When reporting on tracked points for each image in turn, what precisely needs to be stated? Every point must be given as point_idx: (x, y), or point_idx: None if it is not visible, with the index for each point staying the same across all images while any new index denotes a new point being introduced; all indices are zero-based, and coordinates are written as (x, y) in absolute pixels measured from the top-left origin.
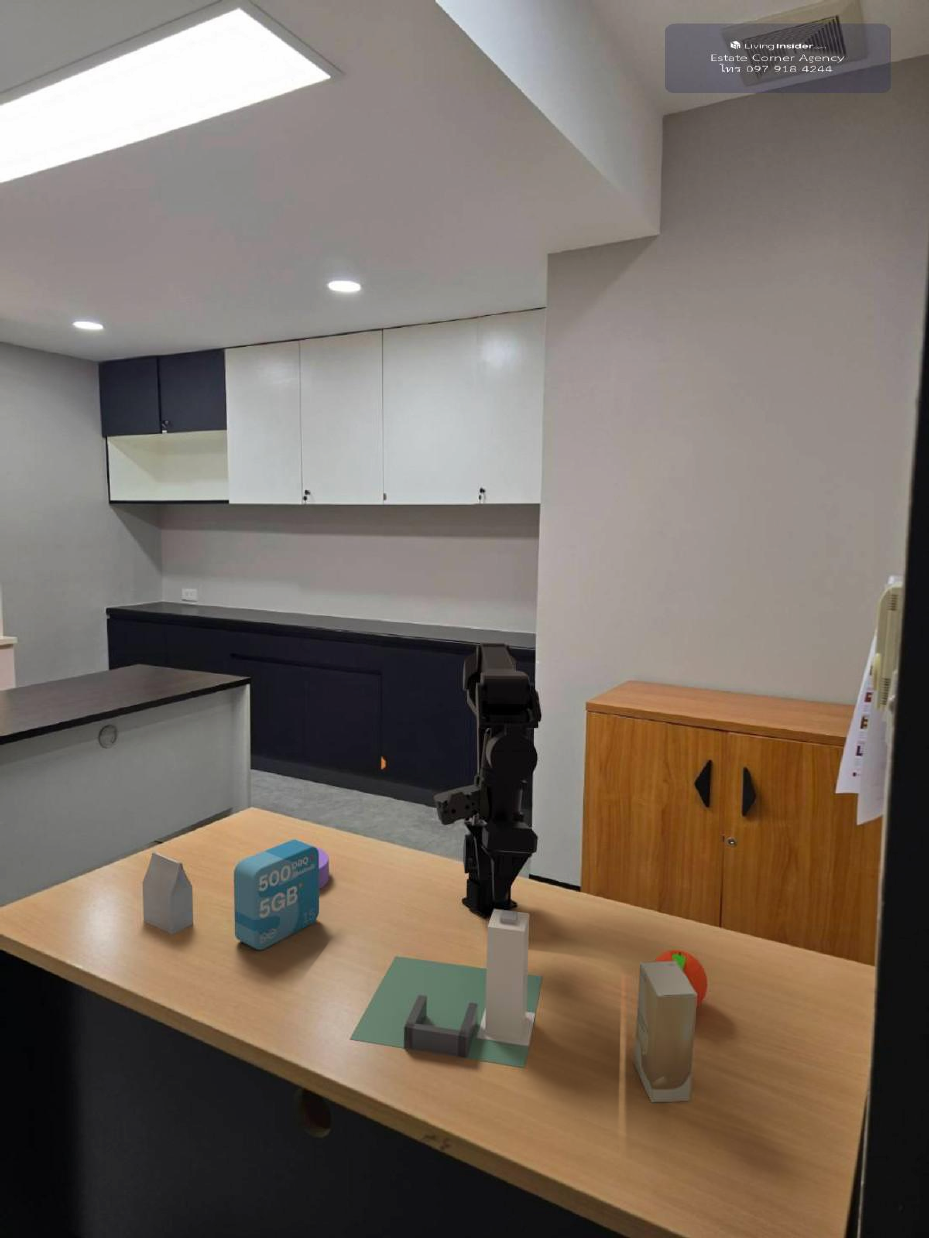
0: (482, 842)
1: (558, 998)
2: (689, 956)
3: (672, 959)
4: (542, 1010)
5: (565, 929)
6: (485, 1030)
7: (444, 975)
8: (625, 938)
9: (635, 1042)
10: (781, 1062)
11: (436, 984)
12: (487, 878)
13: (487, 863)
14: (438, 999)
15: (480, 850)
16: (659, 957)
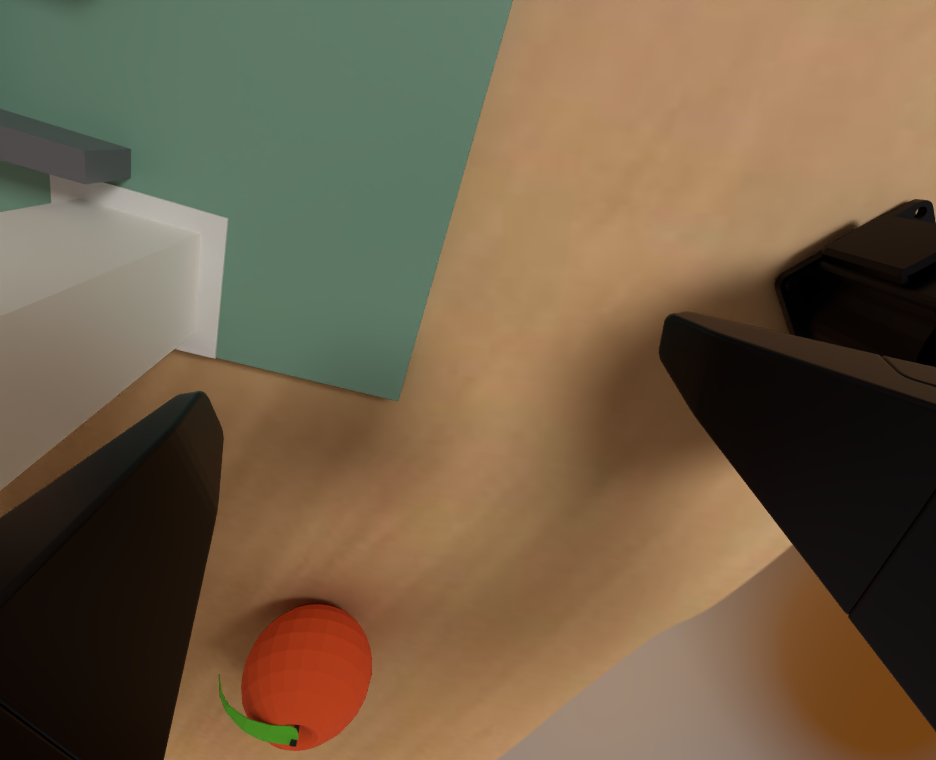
0: (925, 472)
1: (334, 417)
2: (294, 749)
3: (276, 723)
4: (278, 373)
5: (647, 480)
6: (72, 200)
7: (403, 75)
8: (578, 586)
9: None
10: (180, 702)
11: (343, 33)
12: (661, 361)
13: (728, 408)
14: (245, 34)
15: (846, 410)
16: (312, 694)
